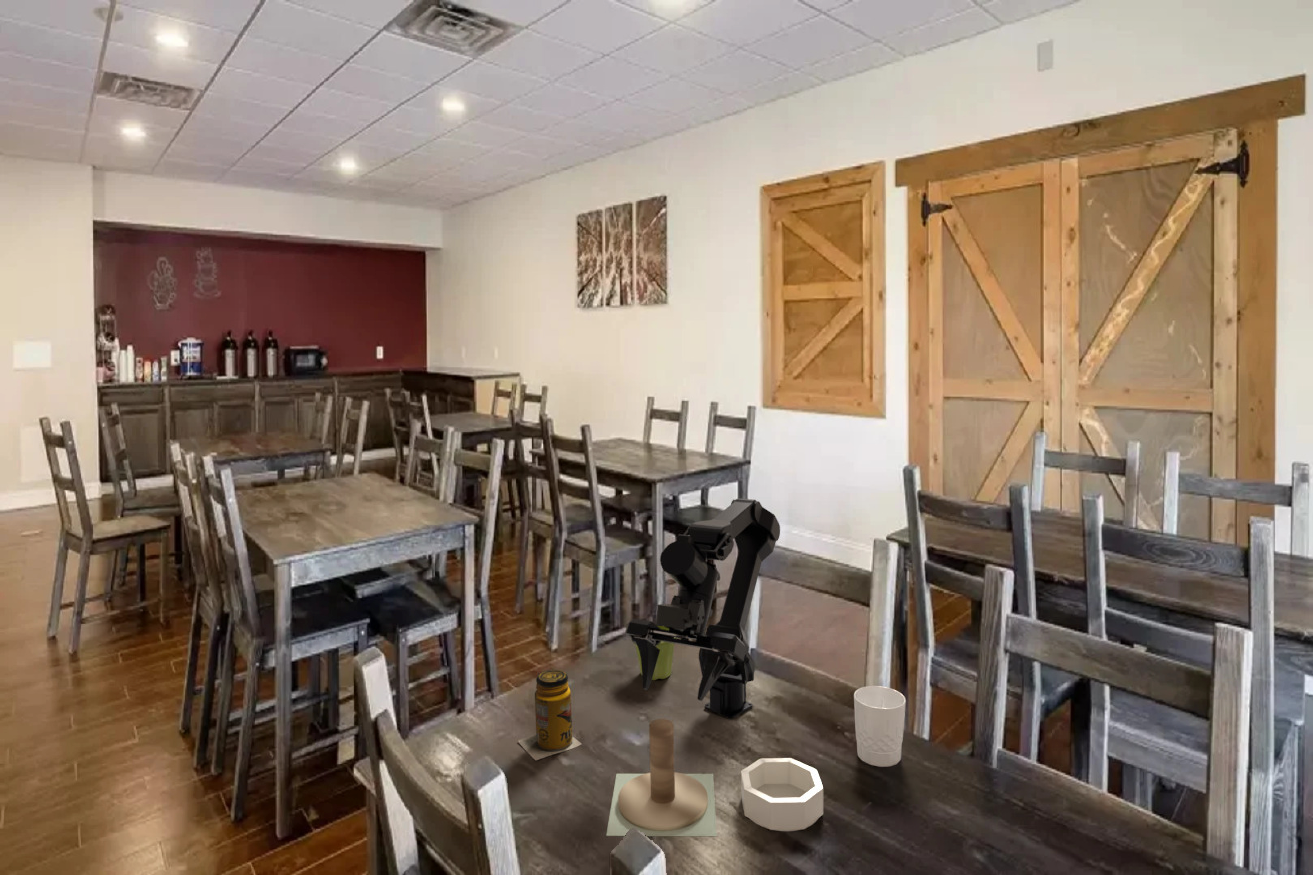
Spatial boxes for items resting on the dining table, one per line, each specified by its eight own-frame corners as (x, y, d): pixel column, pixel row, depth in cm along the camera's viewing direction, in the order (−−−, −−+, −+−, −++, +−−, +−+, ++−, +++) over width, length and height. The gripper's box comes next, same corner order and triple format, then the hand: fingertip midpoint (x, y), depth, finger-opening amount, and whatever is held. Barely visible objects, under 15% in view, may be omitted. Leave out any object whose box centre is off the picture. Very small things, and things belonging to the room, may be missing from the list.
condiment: (582, 745, 129) (579, 677, 127) (535, 761, 124) (532, 691, 123) (562, 727, 135) (559, 662, 133) (517, 742, 130) (514, 675, 129)
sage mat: (616, 775, 120) (616, 773, 120) (713, 775, 119) (713, 773, 119) (606, 837, 105) (606, 835, 105) (716, 838, 104) (716, 836, 104)
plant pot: (664, 688, 149) (663, 645, 148) (623, 678, 154) (622, 637, 153) (687, 670, 157) (686, 629, 156) (647, 661, 162) (646, 621, 161)
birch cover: (662, 767, 121) (661, 695, 119) (726, 801, 112) (725, 723, 110) (599, 803, 112) (597, 726, 110) (663, 844, 103) (661, 759, 101)
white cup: (907, 748, 125) (908, 690, 124) (900, 774, 118) (902, 712, 117) (858, 739, 129) (858, 682, 127) (849, 763, 122) (849, 703, 120)
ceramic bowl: (773, 777, 118) (773, 750, 118) (835, 807, 110) (836, 778, 110) (726, 809, 110) (726, 780, 110) (790, 844, 103) (790, 812, 102)
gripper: (624, 572, 123) (596, 670, 116) (734, 587, 114) (711, 693, 108) (650, 596, 131) (626, 688, 125) (754, 611, 123) (734, 710, 116)
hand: (671, 694), depth 118 cm, fingers open, 9 cm apart
